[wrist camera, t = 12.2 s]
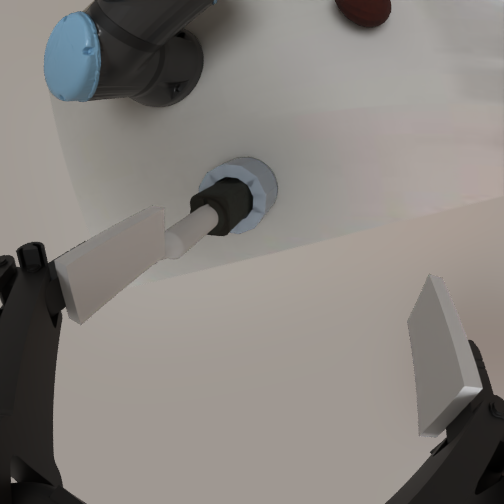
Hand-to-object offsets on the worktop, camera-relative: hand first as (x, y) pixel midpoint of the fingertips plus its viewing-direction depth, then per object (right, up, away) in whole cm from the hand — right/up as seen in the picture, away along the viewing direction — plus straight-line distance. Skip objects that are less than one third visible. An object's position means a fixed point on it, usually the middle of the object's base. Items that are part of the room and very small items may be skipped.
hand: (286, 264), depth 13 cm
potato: (+14, +36, +16) cm, 42 cm away
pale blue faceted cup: (-2, +11, +34) cm, 36 cm away
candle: (-3, +10, +33) cm, 34 cm away
